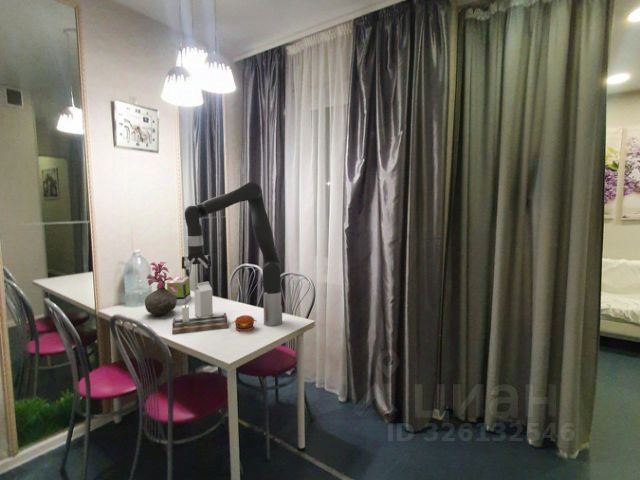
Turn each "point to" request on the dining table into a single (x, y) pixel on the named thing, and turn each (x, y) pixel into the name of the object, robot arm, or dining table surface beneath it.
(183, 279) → the tea box
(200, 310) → the milk carton
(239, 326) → the hamburger
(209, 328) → the fader console
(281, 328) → the dining table surface
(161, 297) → the vase
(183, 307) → the fader tab
